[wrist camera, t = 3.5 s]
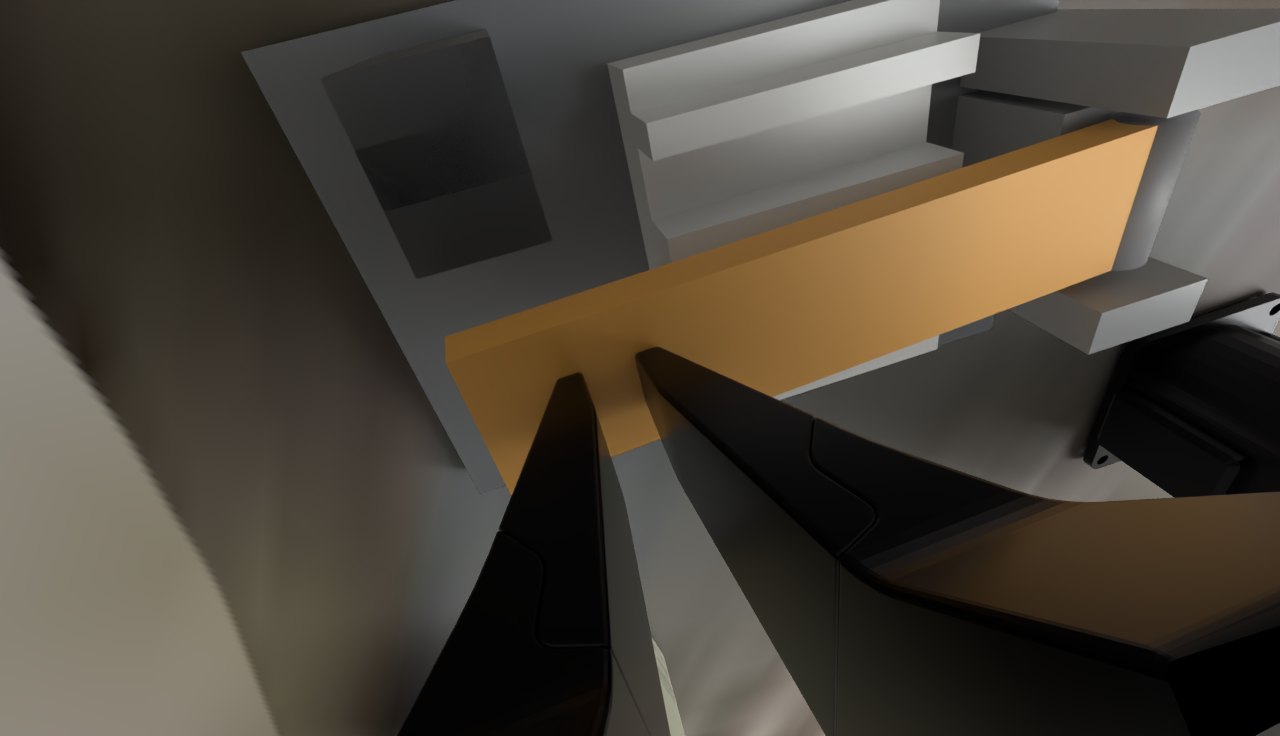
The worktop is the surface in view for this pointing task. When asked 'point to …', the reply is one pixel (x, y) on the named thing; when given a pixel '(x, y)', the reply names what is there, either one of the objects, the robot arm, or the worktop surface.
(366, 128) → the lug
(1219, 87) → the clamp base
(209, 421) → the worktop surface
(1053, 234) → the strap
